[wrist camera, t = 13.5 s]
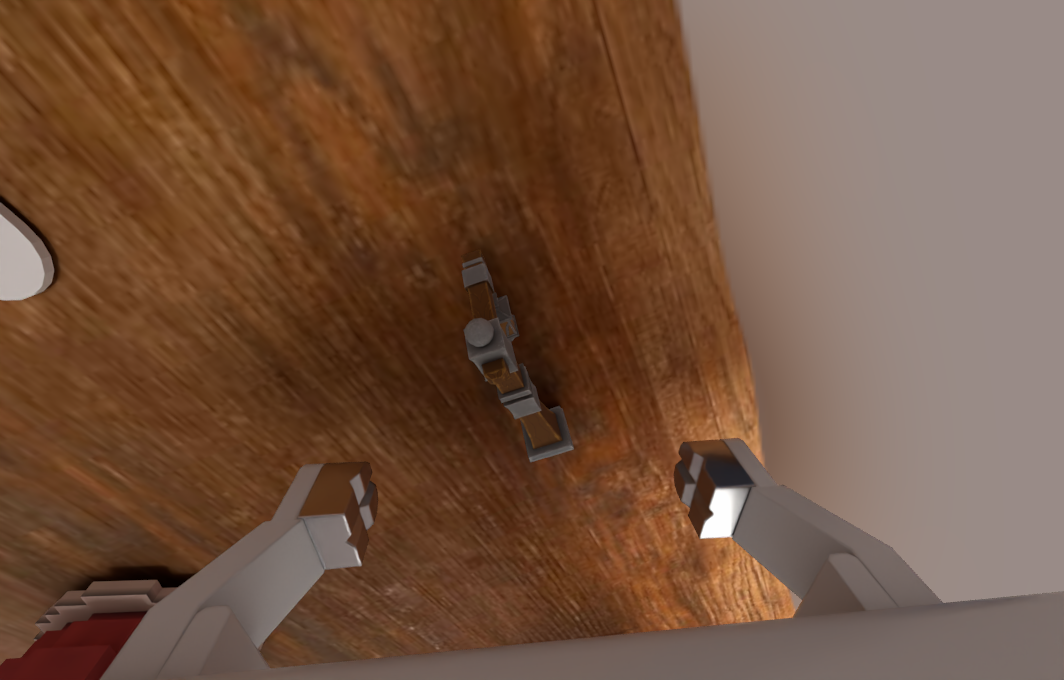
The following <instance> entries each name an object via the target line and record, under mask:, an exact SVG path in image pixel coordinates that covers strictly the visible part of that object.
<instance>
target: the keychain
mask: <svg viewBox="0 0 1064 680" xmlns="http://www.w3.org/2000/svg"><path fill="white" fill-rule="evenodd" d="M53 274H54V267H53V263H52V258H51V255H50V254H49V252H48V250H47V249H46V247H45V245H44V244H43V242H42V240H41V239H40V238H39V237H38V236H37V235H36V234H35V233H34V232H33V231H32V230H31V229H30V228H29V227H28V226H27V225H26V224H25V223H24V222H23V221H22V220H20V219H19V218H18V217H17V216H16V215H15V214H13V213H12V212H11V211H10V210H9V209H8V208H6V207H5V206H4V205H3V204H2V203H1V202H0V300H22V299H25V298H27V297H30V296H33V295H36V294H38V293H41V292H43V291H44V290H45V289H46V288H47V287H48V286H49V285H50V284H51V283H52V279H53Z"/></svg>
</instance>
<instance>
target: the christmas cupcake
mask: <svg viewBox="0 0 1064 680" xmlns="http://www.w3.org/2000/svg"><path fill="white" fill-rule="evenodd" d="M177 588H178V587H176V588H162V587H161V585H160V583H159V582H158V580H131V581H99V582H93V583H92V584H91V585H90V586H89V587H88V588H87V590H86V591H67V592H66V593H65V594H64V595H63V597H62V598H61V599H60V600H57V602H56V603H55V604H54V605H53V606H52V607H51V608H49V609H48V610H47V611H46V612H45V613H44V614H43V615H42V617H41V618H40V619H39V620H38V621H37V622H36V623H35V624H36V625H37V626H38V627H39V628H40V630H41V631H40V632H39V634H38V635H37V636H36V637H35V638H34V639H33V640H34V641H35V642H34V644H33V645H32V646H31V647H30V648H29V649H28V650H27V652H26V653H25V654H24V655H23V656H22V657H21V658H15V659H6V660H5V661H4V662H3V663H2V664H1V666H0V680H100V679H101V677H102V676H103V674H104V673H105V671H106V670H107V669H108V667H109V666H110V664H111V663H112V661H113V660H114V659H115V657H116V656H117V654H118V653H119V652H120V650H121V649H122V647H123V646H124V644H125V643H126V642H127V640H128V639H129V637H130V636H131V634H132V633H133V632H134V630H135V629H136V627H137V626H138V624H139V623H140V622H141V620H142V619H143V617H144V616H145V615H146V613H147V612H148V610H149V609H150V608H152V607H153V606H154V605H156V604H157V603H158V602H159V601H161V600H162V599H163V598H165V597H166V596H167V595H169V594H170V593H171V592H173V591H174V590H175V589H177ZM263 643H264V642H263ZM263 643H262V644H261V645H260V646H259V647H258V650H259V652H260V650H261V648H262V645H263Z"/></svg>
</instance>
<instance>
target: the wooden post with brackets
mask: <svg viewBox="0 0 1064 680" xmlns="http://www.w3.org/2000/svg"><path fill="white" fill-rule="evenodd" d="M461 257H462V261H463V264H462V265H463V268H464V270H462V276H463V282H464V287H465V289H466V291H467V292H468V294H469V298H470V304H471V309H472V315H473V320H471V321H470V322H469V323H468V324H467V326H466V328H465V329H464V334H465V339H466V345H467V351H468V356H469V360H471V361H473V362H474V363H475V365H476V366H477V367H478V369H479V370H480V371H481V373H482V374H483V375H484V378H485V381H488V382H489V383H490V384H496V386H497V391H498V397H499V400H501V403H504V407H506V408H508V409H509V410H510V411H511V413H512V414H513V416H514V419H517V418H520V420H521V425H522V430H523V434H524V439H525V444H526V449H527V453H528V458H529V460H530V462H533V461H537V460H540V459H543V458H546V457H550V456H553V455H556V454H559V453H563V452H566V451H569V450H573V449H574V447H573V444H572V440H571V437H570V433H569V429H568V426H567V422H566V419H565V415H564V412H563V408H562V409H561V408H560V406H558V407H554V408H551V409H548V408H547V407H546V406H545V405H544V404H543V403H542V402H541V401H540V400H539V398H538V394H537V390H536V386H534V385H533V384H532V382H531V380H530V378H529V375H528V371H527V370H526V367H525V366H524V365H523V363H522V364H519V365H518V364H517V362H516V359H515V355H514V351H513V347H512V343H511V341H513V340H514V338H515V337H518V336H519V333H518V329H517V324H516V320H515V316H514V315H511V311H510V306H509V302H508V298H507V295H505V296H502V297H499V298H497V294H496V293H495V292H494V287H493V283H492V279H491V276H490V274H489V272H488V269H487V267H486V261H485V259H484V257H483V255H482V253H481V251H480V249H479V250H476V251H473V252H471V253H468V254H465V255H462V256H461Z"/></svg>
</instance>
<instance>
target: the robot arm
mask: <svg viewBox="0 0 1064 680" xmlns="http://www.w3.org/2000/svg"><path fill="white" fill-rule="evenodd" d="M679 455H680V457H681V458H682V460H681V461H679V462H678V463H677V464H676V465H675V471H674V483H675V487H676V491H677V494H678V496H679V498H680V500H681V501H682V502H683V503H684V504H686V505H687V506H688V507H690V511H689V514H688V516H689V518H690V520H691V522H692V524H693V526H694V528H695V530H696V532H697V534H698V536H699V538H700V539H703V538H723V537H733V538H732V539H733V540H734V541H735V542H736V543H738V544H739V545H740V546H741V547H742V548H743V549H744V550H746V551H747V552H748V553H749V554H750V555H751V556H752V557H754V558H755V559H756V560H757V561H758V562H759V563H760V564H762V565H763V566H764V567H765V568H766V569H767V570H768V571H770V572H771V573H772V574H773V575H774V576H775V577H776V578H778V579H779V580H780V581H781V582H782V583H783V584H784V585H786V586H787V587H788V588H789V589H790V590H791V591H792V592H794V593H795V594H796V595H797V596H798V597H799V598H801V599H802V602H801V603H800V605H799V607H798V609H797V610H796V612H795V614H794V616H793V618H785V619H775V620H765V621H754V622H744V623H734V624H724V625H713V626H703V627H692V628H682V629H672V630H661V631H651V632H641V633H630V634H620V635H610V636H599V637H589V638H579V639H568V640H558V641H548V642H538V643H528V644H518V645H507V646H497V647H487V648H477V649H466V650H456V651H446V652H436V653H425V654H415V655H405V656H395V657H384V658H374V659H364V660H353V661H343V662H333V663H323V664H312V665H302V666H292V667H281V668H271V669H270V667H269V665H268V664H267V662H266V661H265V659H264V658H263V656H262V655H261V653H260V652H259V650H258V647H259V646H260V645H261V644H262V643H263V642H264V641H265V639H266V638H267V637H268V636H269V635H270V634H271V633H272V631H273V630H274V629H275V628H276V627H277V626H278V625H279V623H280V622H281V621H282V620H283V619H284V618H285V616H286V615H287V614H288V613H289V612H290V611H291V610H292V608H293V607H294V606H295V605H296V604H297V603H298V602H299V600H300V599H301V598H302V597H303V596H304V595H305V594H306V592H307V591H308V590H309V589H310V588H311V587H312V586H313V584H314V583H315V582H316V581H317V580H318V579H319V578H320V576H321V575H322V574H323V573H324V570H326V569H335V568H345V567H354V566H361V565H362V562H363V559H364V555H365V552H366V549H367V545H368V542H369V537H368V534H367V530H368V529H369V528H370V527H371V526H372V525H373V524H374V522H375V518H376V514H377V507H378V492H377V488H376V485H375V484H374V483H373V482H371V481H370V478H371V475H372V469H371V466H370V463H369V462H343V463H326V464H305V465H304V466H303V467H302V468H300V470H299V471H298V473H297V475H296V477H295V479H294V480H293V482H292V484H291V486H290V488H289V489H288V491H287V493H286V495H285V497H284V498H283V500H282V502H281V504H280V506H279V507H278V509H277V511H276V513H275V515H274V516H273V518H272V520H271V521H266V522H263V523H262V524H261V525H259V526H258V527H257V528H255V529H254V530H253V531H251V532H250V533H249V534H247V535H246V536H245V537H243V538H242V539H241V540H240V541H238V542H237V543H236V544H234V545H233V546H232V547H230V548H229V549H228V550H226V551H225V552H224V553H222V554H221V555H220V556H219V557H217V558H216V559H215V560H213V561H212V562H211V563H209V564H208V565H207V566H205V567H204V568H203V569H201V570H200V571H199V572H198V573H196V574H195V575H194V576H192V577H191V578H190V579H188V580H187V581H186V582H184V583H183V584H182V585H180V586H179V587H178V588H177V589H175V590H174V591H173V592H171V593H170V594H169V595H167V596H166V597H165V598H163V599H162V600H161V601H159V602H158V603H157V604H156V605H154V606H153V607H152V608H150V609H149V610H148V612H147V613H146V615H145V616H144V617H143V619H142V620H141V622H140V623H139V624H138V626H137V627H136V629H135V630H134V632H133V633H132V634H131V636H130V637H129V639H128V640H127V642H126V643H125V644H124V646H123V647H122V649H121V650H120V652H119V653H118V654H117V656H116V657H115V659H114V660H113V661H112V663H111V664H110V666H109V667H108V669H107V670H106V671H105V673H104V674H103V676H102V677H101V679H100V680H1064V592H1052V593H1042V594H1032V595H1021V596H1011V597H1001V598H992V599H981V600H970V601H960V602H950V603H943V602H942V601H940V599H939V598H938V597H937V596H936V595H935V594H934V593H933V592H932V590H931V589H930V588H929V587H928V586H927V585H926V584H925V583H924V582H923V581H922V580H921V579H920V578H919V576H917V574H916V573H915V572H914V571H913V570H912V569H911V568H910V567H909V566H908V565H907V564H906V562H905V561H904V560H903V559H902V558H901V557H900V556H899V555H898V554H897V553H896V552H895V551H894V550H893V548H892V547H890V546H888V545H887V544H885V543H883V542H881V541H880V540H878V539H876V538H875V537H873V536H871V535H869V534H868V533H866V532H864V531H862V530H861V529H859V528H857V527H855V526H854V525H852V524H850V523H848V522H847V521H845V520H843V519H841V518H840V517H838V516H836V515H835V514H833V513H831V512H829V511H828V510H826V509H824V508H822V507H821V506H819V505H817V504H816V503H814V502H812V501H811V500H809V499H807V498H805V497H803V496H802V495H800V494H798V493H797V492H795V491H793V490H791V489H790V488H788V487H786V486H784V485H777V483H776V482H775V481H774V480H773V478H772V477H771V476H770V475H769V473H768V472H767V471H766V469H765V468H764V467H763V466H762V464H761V463H760V462H759V460H758V459H757V458H756V457H755V455H754V454H753V453H752V452H751V450H750V449H749V448H748V446H747V445H746V444H745V443H744V441H743V440H741V439H739V438H731V439H720V440H704V441H690V442H683V443H682V444H681V446H680V449H679Z"/></svg>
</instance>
